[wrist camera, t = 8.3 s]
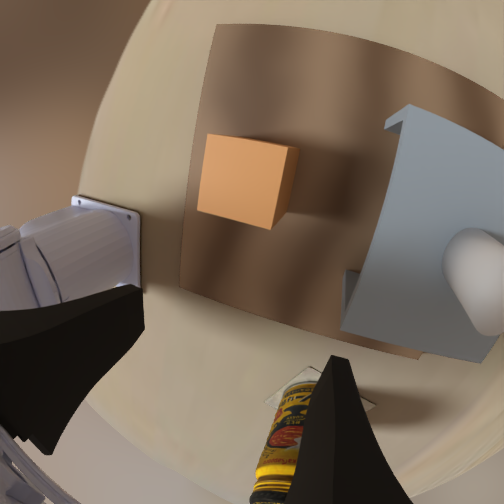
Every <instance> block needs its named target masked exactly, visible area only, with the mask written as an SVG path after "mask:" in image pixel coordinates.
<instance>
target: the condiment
mask: <svg viewBox="0 0 504 504" xmlns="http://www.w3.org/2000/svg"><path fill="white" fill-rule="evenodd" d="M320 376H321V373H320V372H318V371H316V370H315V369H313V368H310V367H308V368H306V369H305V370H304V371H303V372H301V373H300V374H299V375H298V376H296V377H295V378H294V379H292V380H291V381H290V382H289V383H287V384H286V385H285V386H284V387H282V388H281V389H280V390H278V391H277V392H276V393H275V394H274V395H272V396H271V397H270V398H269V399H267V400H266V401H264V403H266V404H267V405H269V406H271V407H273V408H275V409H277V413H276V414H275V419H274V422H273V424H272V427H271V430H270V432H269V436H268V438H267V442H266V445H265V447H264V450H263V452H262V454H261V457H260V459H259V463H258V465H257V468H256V477H257V480H258V481H257V482H256V483H255V485H254V490H253V493H252V495H251V496H250V504H284V501H285V498H286V496H287V493H288V490H289V488H290V485H291V482H292V479H293V476H294V472H295V468H296V463H297V458H298V453H299V448H300V443H301V437H302V432H303V426H304V420H305V415H306V412H307V408H308V404H309V401H310V397H311V394H312V391H313V389H314V387H315V385H316V384H317V382H318V380H319V378H320ZM360 398H361V397H360ZM361 401H362V404H363V407H364V409H365V412H366V411H369V410H370V409H372V408H373V407H375V406H376V405H374V404H372V403H370V402H368V401H367V400H365V399H363V398H361Z"/></svg>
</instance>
